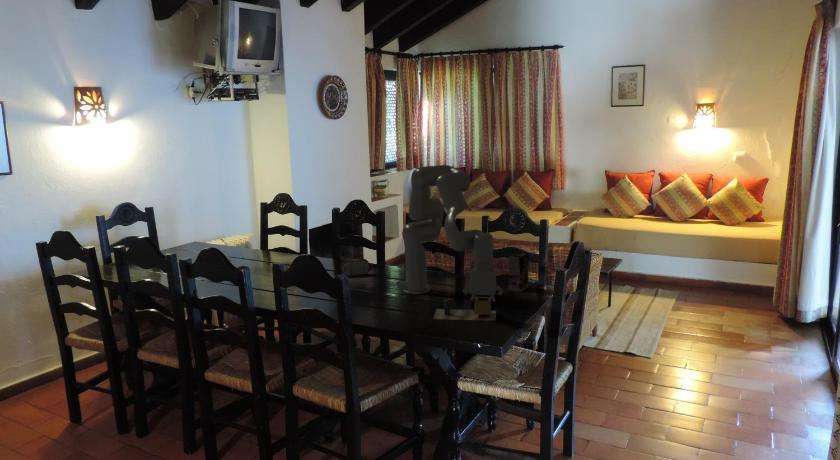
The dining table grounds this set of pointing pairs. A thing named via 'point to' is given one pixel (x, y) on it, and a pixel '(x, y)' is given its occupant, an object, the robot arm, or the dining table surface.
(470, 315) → the board
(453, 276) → the dining table surface
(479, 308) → the collar
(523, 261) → the coffee box
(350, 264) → the tin
